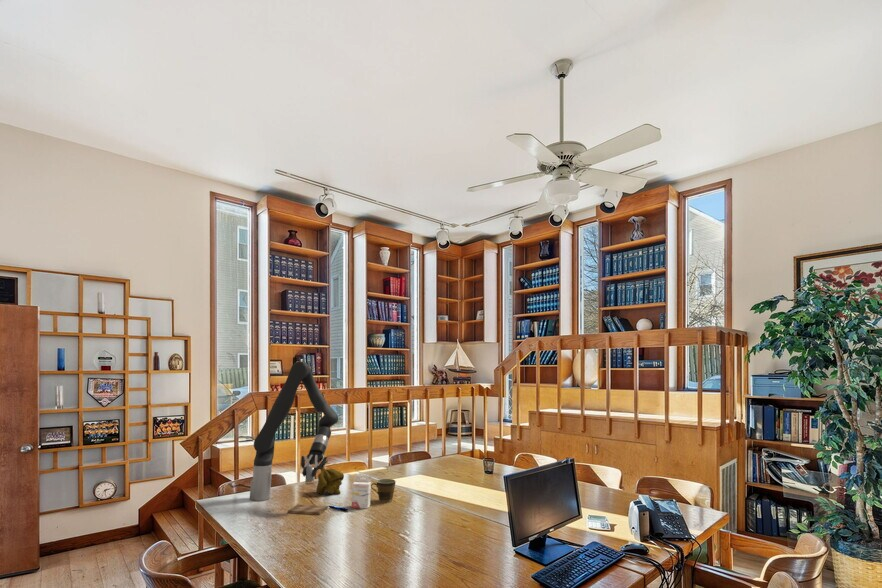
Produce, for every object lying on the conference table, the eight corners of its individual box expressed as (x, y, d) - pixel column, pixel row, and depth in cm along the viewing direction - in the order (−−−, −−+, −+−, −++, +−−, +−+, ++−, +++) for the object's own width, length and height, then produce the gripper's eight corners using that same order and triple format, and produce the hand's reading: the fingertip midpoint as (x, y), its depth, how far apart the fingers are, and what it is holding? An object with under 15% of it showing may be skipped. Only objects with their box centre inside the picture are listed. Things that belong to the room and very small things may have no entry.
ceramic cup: (392, 497, 256) (393, 478, 257) (397, 502, 246) (397, 482, 248) (368, 499, 252) (369, 479, 253) (372, 504, 242) (372, 484, 244)
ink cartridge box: (351, 508, 237) (352, 477, 239) (353, 505, 241) (355, 474, 244) (368, 508, 236) (369, 477, 238) (370, 505, 241) (371, 475, 243)
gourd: (318, 490, 269) (319, 464, 271) (343, 489, 271) (344, 463, 273) (315, 497, 256) (316, 470, 257) (342, 496, 258) (343, 469, 259)
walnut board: (287, 513, 228) (288, 510, 228) (297, 506, 237) (297, 504, 237) (319, 514, 225) (319, 511, 225) (327, 508, 235) (327, 505, 235)
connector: (303, 484, 231) (304, 465, 233) (307, 482, 235) (308, 464, 237) (311, 484, 231) (312, 466, 232) (315, 482, 235) (316, 464, 236)
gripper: (304, 440, 244) (292, 470, 231) (330, 441, 242) (320, 472, 228) (308, 449, 249) (296, 479, 235) (334, 450, 247) (324, 480, 233)
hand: (308, 475), depth 232 cm, fingers closed on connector, 4 cm apart
